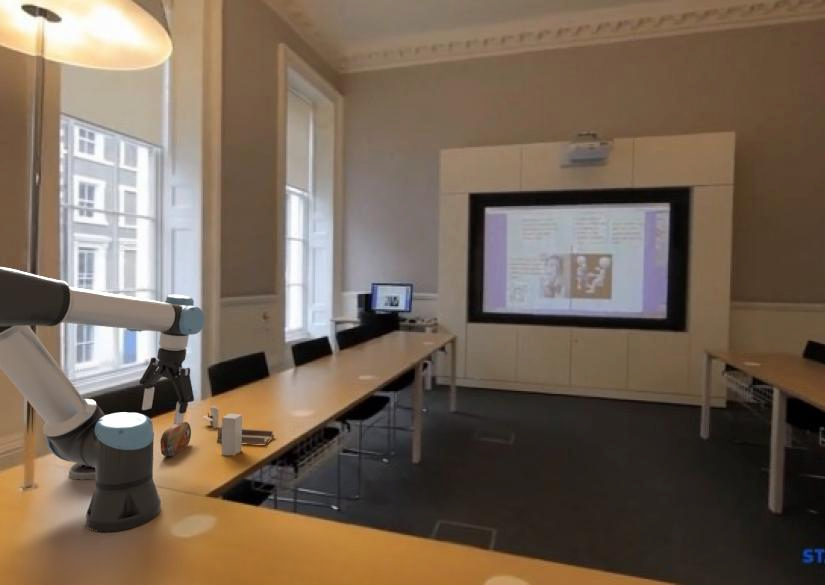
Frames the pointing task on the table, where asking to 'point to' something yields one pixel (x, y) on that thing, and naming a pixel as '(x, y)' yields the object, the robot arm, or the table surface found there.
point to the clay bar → (231, 434)
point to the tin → (175, 439)
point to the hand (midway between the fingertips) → (162, 415)
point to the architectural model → (213, 416)
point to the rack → (251, 436)
